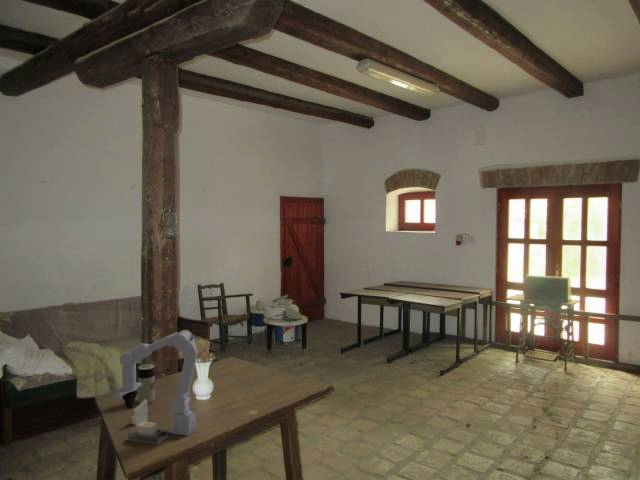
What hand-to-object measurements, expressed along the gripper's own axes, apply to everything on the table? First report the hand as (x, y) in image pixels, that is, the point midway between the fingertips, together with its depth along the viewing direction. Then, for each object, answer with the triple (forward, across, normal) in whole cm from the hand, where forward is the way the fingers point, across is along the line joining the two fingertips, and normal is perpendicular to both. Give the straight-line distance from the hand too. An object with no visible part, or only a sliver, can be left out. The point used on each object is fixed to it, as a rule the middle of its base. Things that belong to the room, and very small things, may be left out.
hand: (129, 408), depth 210 cm
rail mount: (+10, +4, +12) cm, 16 cm away
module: (+9, +4, +12) cm, 15 cm away
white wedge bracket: (+10, -8, -1) cm, 13 cm away
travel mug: (+10, -30, -13) cm, 34 cm away
